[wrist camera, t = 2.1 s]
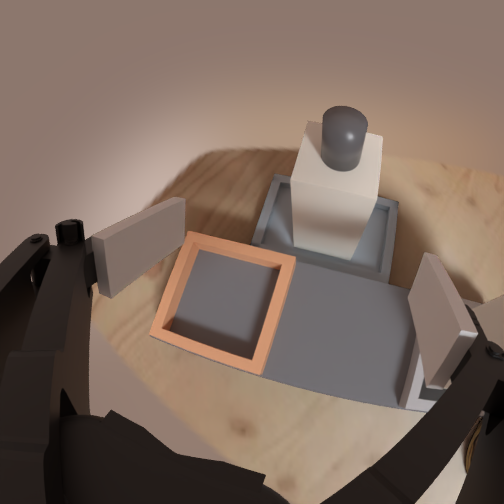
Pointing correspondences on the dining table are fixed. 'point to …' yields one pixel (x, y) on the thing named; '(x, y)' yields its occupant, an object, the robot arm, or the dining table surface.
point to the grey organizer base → (294, 323)
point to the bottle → (335, 183)
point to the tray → (361, 264)
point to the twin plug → (490, 322)
